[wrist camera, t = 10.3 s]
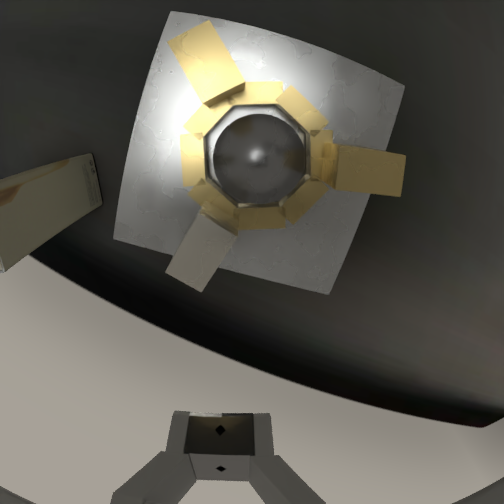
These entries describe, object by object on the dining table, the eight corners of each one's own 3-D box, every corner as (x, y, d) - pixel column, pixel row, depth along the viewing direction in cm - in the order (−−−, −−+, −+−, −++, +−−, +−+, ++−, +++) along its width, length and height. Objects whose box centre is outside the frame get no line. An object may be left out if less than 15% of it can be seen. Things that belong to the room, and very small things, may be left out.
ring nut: (372, 48, 16) (401, 33, 12) (368, 253, 22) (392, 281, 18) (166, 47, 16) (146, 28, 12) (181, 261, 22) (168, 293, 18)
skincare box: (93, 151, 21) (-18, 182, 9) (105, 204, 22) (9, 273, 11) (33, 171, 21) (-73, 213, 9) (45, 219, 22) (-51, 284, 11)
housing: (175, 18, 17) (157, -9, 12) (395, 88, 19) (432, 81, 14) (120, 231, 23) (92, 258, 18) (324, 285, 25) (341, 321, 20)
